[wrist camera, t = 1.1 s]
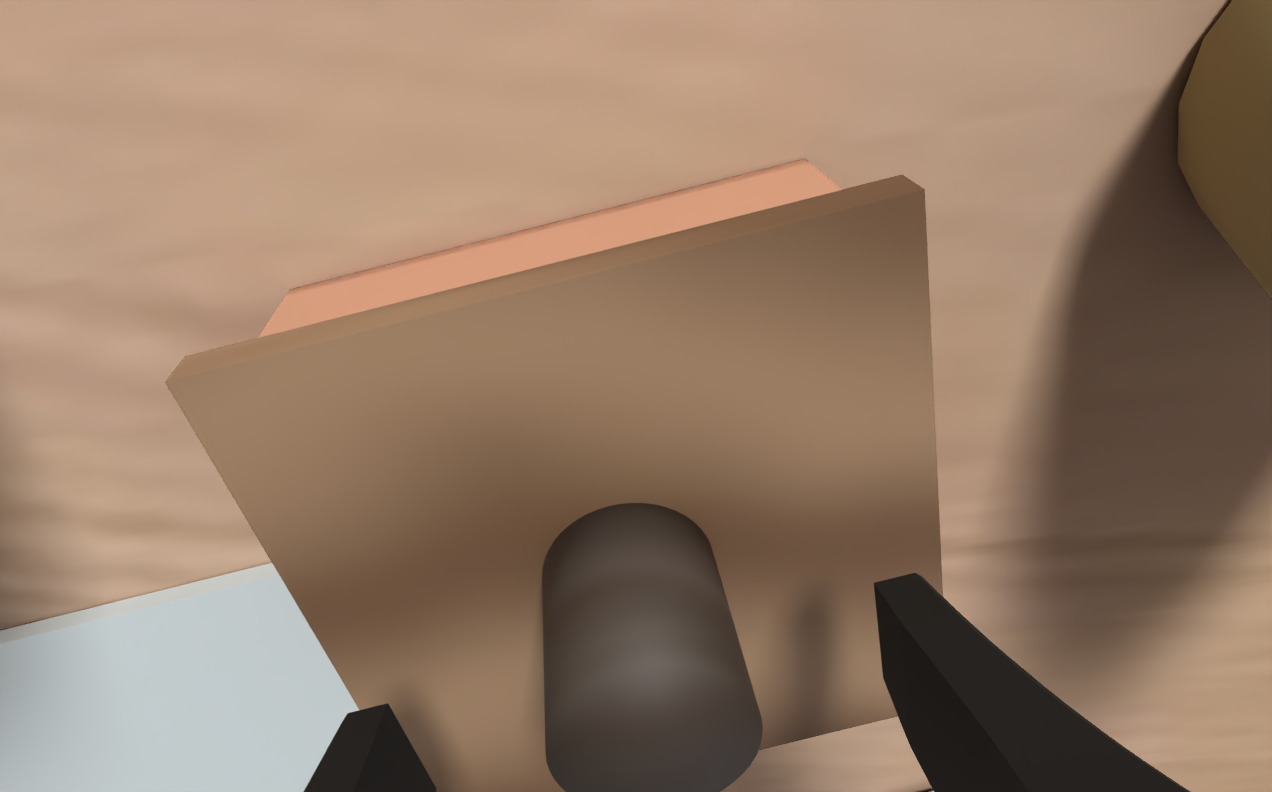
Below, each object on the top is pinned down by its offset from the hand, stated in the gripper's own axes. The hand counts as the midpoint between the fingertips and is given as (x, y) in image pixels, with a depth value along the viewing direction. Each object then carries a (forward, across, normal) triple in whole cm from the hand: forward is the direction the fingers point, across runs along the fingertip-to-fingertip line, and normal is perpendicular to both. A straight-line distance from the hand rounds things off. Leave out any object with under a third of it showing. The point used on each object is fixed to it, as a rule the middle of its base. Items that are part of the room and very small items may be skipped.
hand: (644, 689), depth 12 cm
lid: (+3, 0, 0) cm, 3 cm away
